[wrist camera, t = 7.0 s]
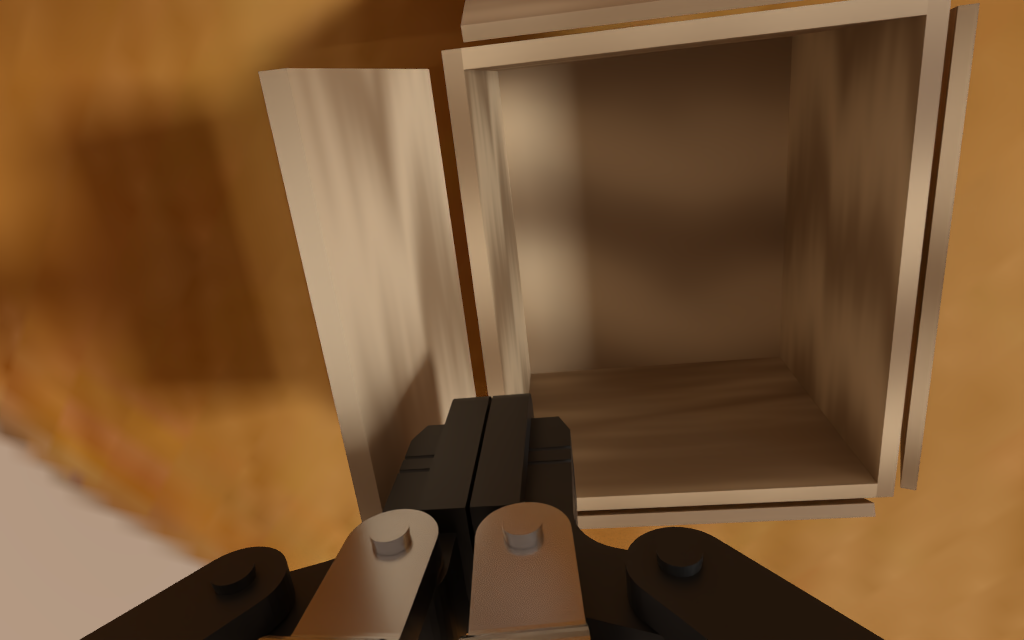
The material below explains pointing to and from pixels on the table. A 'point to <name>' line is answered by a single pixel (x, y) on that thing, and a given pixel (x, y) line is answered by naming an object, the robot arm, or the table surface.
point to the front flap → (374, 255)
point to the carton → (714, 242)
